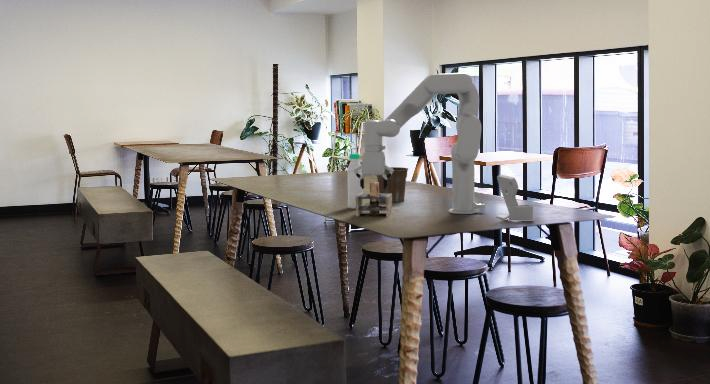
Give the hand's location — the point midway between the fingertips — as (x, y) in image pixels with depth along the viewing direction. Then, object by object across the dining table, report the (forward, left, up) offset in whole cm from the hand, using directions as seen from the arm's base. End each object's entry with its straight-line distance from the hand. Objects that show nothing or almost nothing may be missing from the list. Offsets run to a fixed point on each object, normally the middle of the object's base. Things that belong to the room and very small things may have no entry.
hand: (373, 188), depth 361 cm
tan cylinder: (0, 0, -11) cm, 11 cm away
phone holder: (-60, +11, -12) cm, 62 cm away
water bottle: (+12, -22, -11) cm, 28 cm away
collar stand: (0, 0, -11) cm, 11 cm away
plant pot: (-2, -46, -12) cm, 47 cm away
